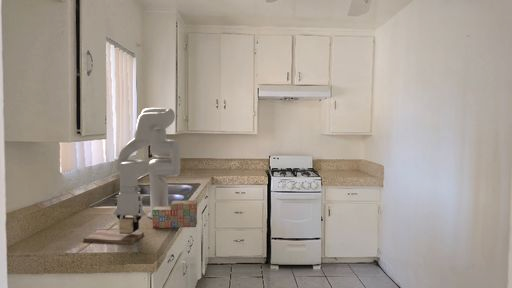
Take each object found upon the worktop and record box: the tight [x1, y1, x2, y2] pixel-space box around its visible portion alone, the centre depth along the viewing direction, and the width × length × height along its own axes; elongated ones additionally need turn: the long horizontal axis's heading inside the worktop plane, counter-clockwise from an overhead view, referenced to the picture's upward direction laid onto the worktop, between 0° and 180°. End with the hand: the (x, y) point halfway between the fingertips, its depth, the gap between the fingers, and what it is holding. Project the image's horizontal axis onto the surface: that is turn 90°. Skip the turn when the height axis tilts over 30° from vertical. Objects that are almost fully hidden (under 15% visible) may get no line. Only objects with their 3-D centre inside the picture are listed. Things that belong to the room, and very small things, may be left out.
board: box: [82, 229, 145, 245], centre depth 155 cm, size 12×22×2 cm, turn 82°
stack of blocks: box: [152, 199, 198, 229], centre depth 174 cm, size 21×6×12 cm, turn 94°
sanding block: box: [118, 215, 140, 234], centre depth 154 cm, size 8×5×6 cm, turn 172°
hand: (129, 229), depth 154 cm, fingers closed on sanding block, 5 cm apart
